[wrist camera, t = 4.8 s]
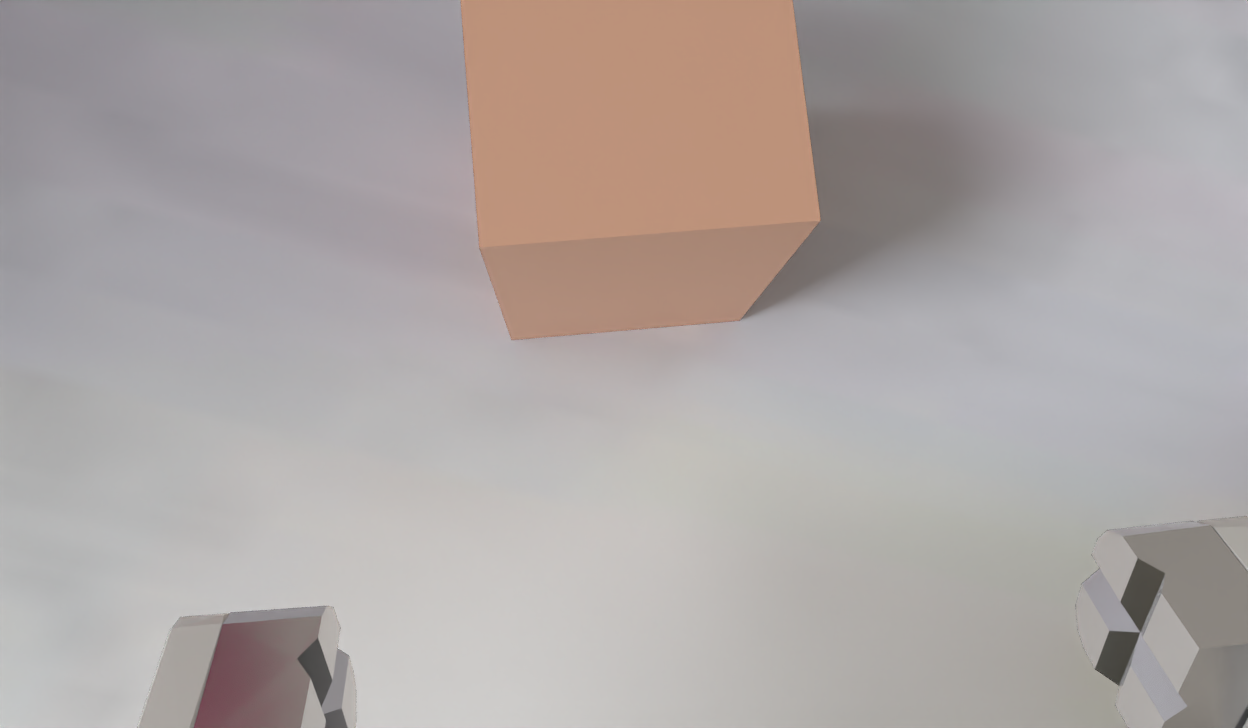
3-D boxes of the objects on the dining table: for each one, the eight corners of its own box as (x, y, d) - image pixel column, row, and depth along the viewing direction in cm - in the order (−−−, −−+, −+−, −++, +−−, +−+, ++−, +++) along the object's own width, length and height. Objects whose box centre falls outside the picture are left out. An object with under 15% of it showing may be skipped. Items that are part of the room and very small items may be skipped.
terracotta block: (511, 340, 22) (479, 247, 15) (494, 121, 23) (454, -73, 15) (739, 320, 22) (820, 220, 15) (714, 105, 23) (780, -92, 16)
